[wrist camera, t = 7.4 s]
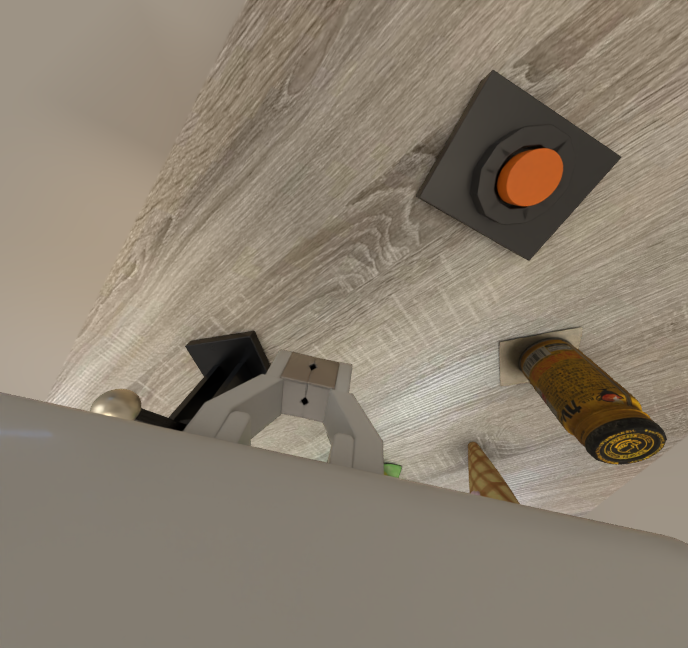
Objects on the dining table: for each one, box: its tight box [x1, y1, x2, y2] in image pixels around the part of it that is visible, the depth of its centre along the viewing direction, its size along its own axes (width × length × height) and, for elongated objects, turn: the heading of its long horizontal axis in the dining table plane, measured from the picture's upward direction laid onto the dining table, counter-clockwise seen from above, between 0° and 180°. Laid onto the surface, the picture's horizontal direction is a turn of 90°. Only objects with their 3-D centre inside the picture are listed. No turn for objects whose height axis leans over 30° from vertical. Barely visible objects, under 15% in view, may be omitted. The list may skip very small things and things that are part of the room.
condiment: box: [499, 327, 667, 465], centre depth 26 cm, size 7×8×12 cm
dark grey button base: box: [416, 70, 621, 260], centre depth 21 cm, size 12×9×4 cm
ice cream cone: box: [468, 442, 520, 504], centre depth 34 cm, size 7×6×15 cm
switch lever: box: [90, 389, 192, 431], centre depth 25 cm, size 12×3×3 cm, turn 14°
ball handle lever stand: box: [169, 331, 270, 422], centre depth 32 cm, size 12×10×13 cm
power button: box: [497, 148, 563, 206], centre depth 19 cm, size 4×4×2 cm
